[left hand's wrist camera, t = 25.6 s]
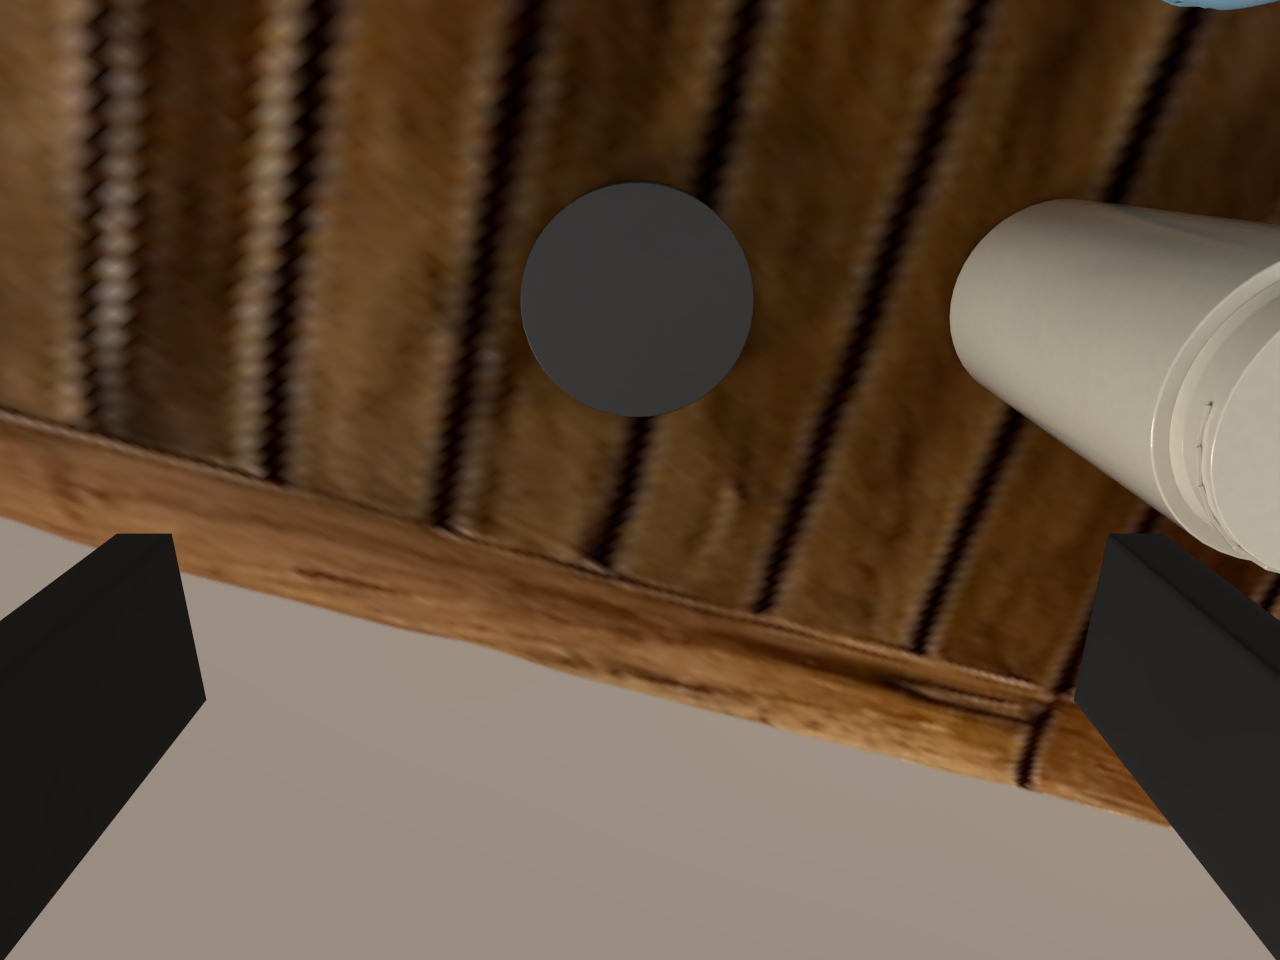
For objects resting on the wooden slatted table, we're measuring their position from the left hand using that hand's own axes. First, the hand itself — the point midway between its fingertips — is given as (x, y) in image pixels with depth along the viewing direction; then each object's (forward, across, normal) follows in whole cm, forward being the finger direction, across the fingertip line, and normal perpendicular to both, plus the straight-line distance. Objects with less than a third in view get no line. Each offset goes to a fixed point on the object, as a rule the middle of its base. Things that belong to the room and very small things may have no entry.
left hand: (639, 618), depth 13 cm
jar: (+29, +19, -1) cm, 35 cm away
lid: (+28, 0, 0) cm, 28 cm away
